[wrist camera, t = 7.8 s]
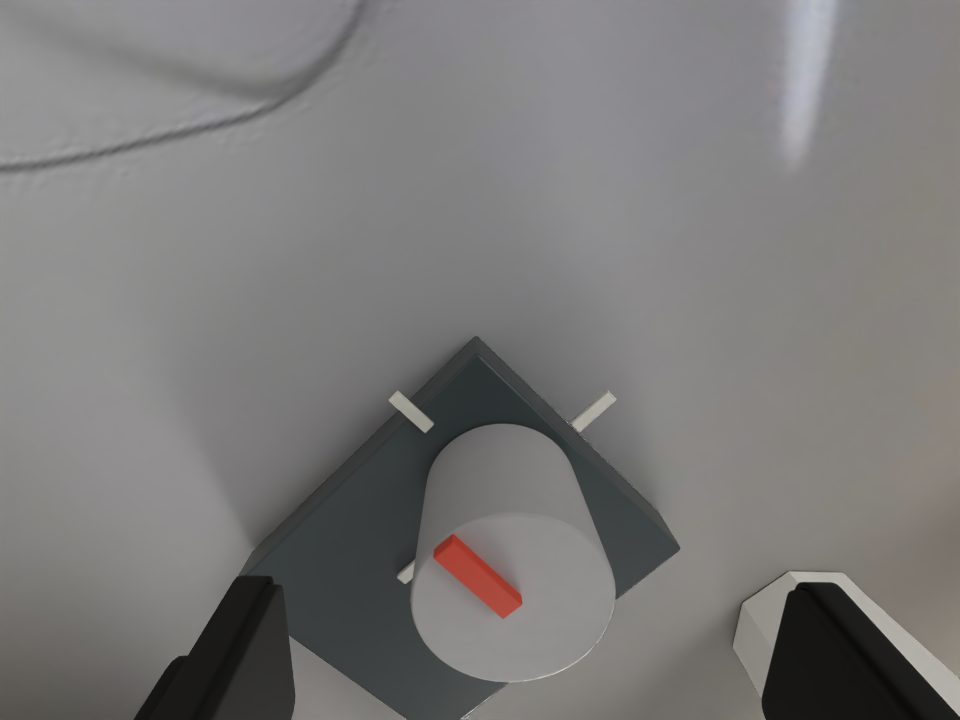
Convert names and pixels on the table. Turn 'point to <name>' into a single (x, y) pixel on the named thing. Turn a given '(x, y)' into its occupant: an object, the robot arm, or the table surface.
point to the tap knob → (508, 559)
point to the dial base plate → (396, 524)
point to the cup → (768, 605)
